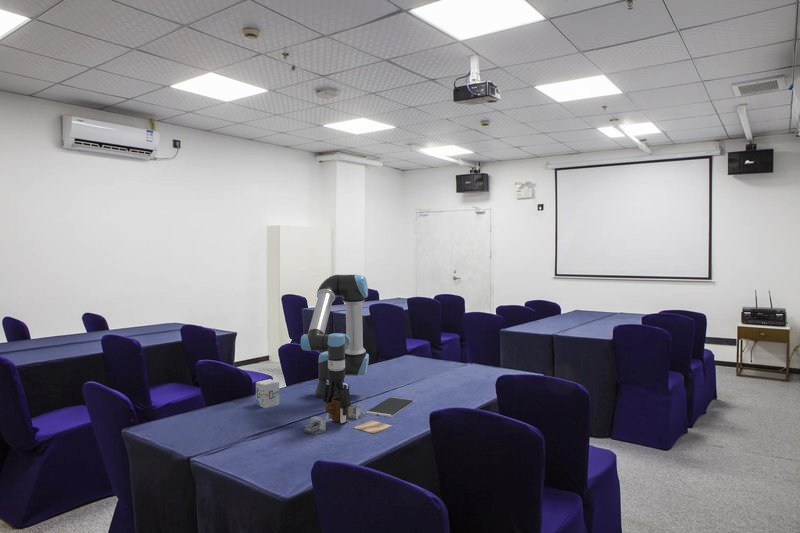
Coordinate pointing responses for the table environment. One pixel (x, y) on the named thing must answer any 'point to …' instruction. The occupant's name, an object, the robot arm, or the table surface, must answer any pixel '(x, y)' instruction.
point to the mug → (336, 409)
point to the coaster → (372, 427)
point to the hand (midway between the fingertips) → (336, 420)
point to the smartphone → (390, 407)
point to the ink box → (267, 393)
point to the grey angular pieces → (320, 423)
